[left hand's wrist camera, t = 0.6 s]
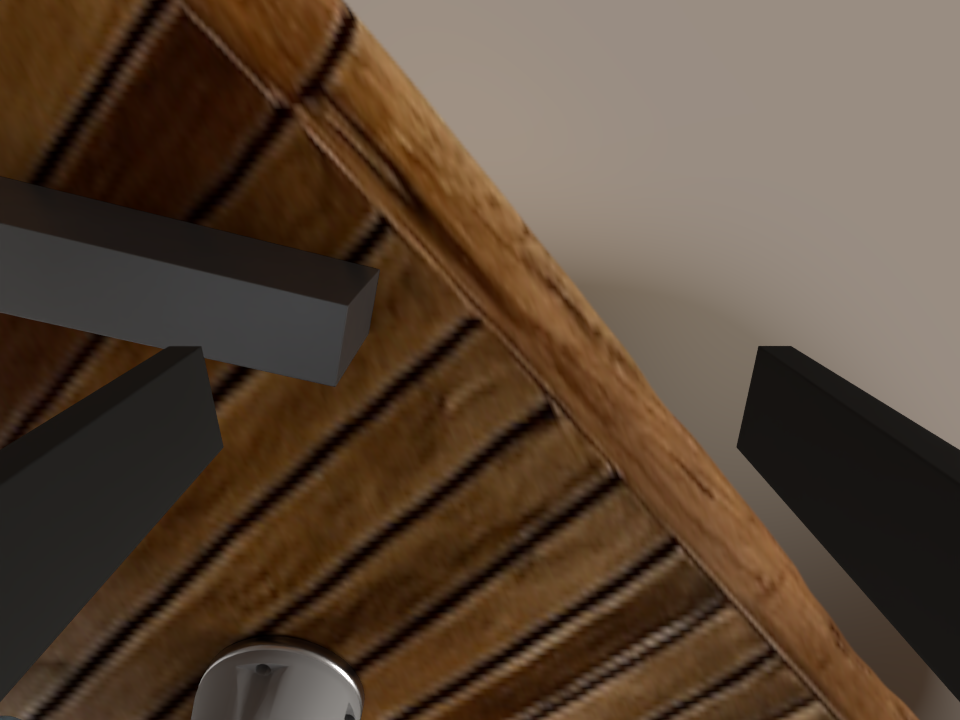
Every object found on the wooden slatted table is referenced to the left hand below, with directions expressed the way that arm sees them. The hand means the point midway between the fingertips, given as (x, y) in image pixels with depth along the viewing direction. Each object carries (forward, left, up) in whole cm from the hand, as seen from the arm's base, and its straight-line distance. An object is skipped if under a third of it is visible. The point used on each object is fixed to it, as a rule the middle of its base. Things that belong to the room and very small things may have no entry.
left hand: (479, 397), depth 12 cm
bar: (-15, +15, -23) cm, 31 cm away
